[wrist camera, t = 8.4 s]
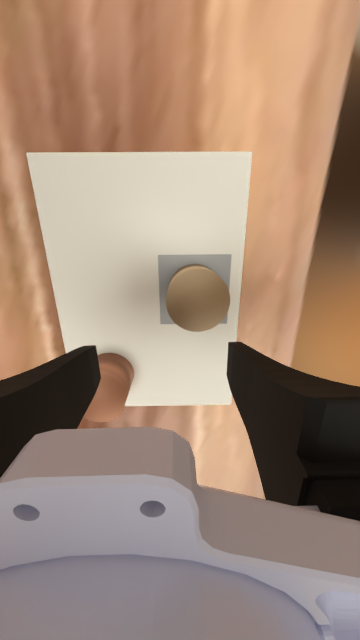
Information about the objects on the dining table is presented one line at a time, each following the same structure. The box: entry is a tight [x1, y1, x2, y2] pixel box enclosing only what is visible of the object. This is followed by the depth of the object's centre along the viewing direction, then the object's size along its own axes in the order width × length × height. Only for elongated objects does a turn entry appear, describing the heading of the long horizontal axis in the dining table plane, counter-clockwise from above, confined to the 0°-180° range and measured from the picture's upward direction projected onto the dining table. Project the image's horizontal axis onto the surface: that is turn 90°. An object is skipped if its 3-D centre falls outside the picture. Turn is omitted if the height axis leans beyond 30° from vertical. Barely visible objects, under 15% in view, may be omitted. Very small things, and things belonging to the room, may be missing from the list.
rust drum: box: [83, 353, 134, 422], centre depth 20 cm, size 4×4×4 cm
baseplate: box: [26, 152, 252, 406], centre depth 20 cm, size 22×16×1 cm
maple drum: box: [166, 264, 230, 332], centre depth 17 cm, size 4×4×4 cm
